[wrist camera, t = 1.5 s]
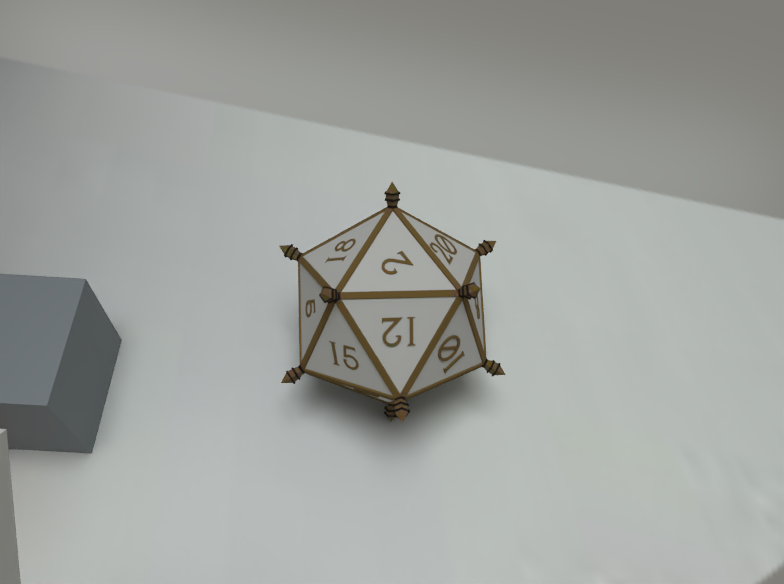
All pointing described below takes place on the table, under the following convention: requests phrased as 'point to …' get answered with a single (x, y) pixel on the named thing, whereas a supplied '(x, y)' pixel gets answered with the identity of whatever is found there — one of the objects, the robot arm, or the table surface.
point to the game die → (390, 308)
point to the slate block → (53, 362)
